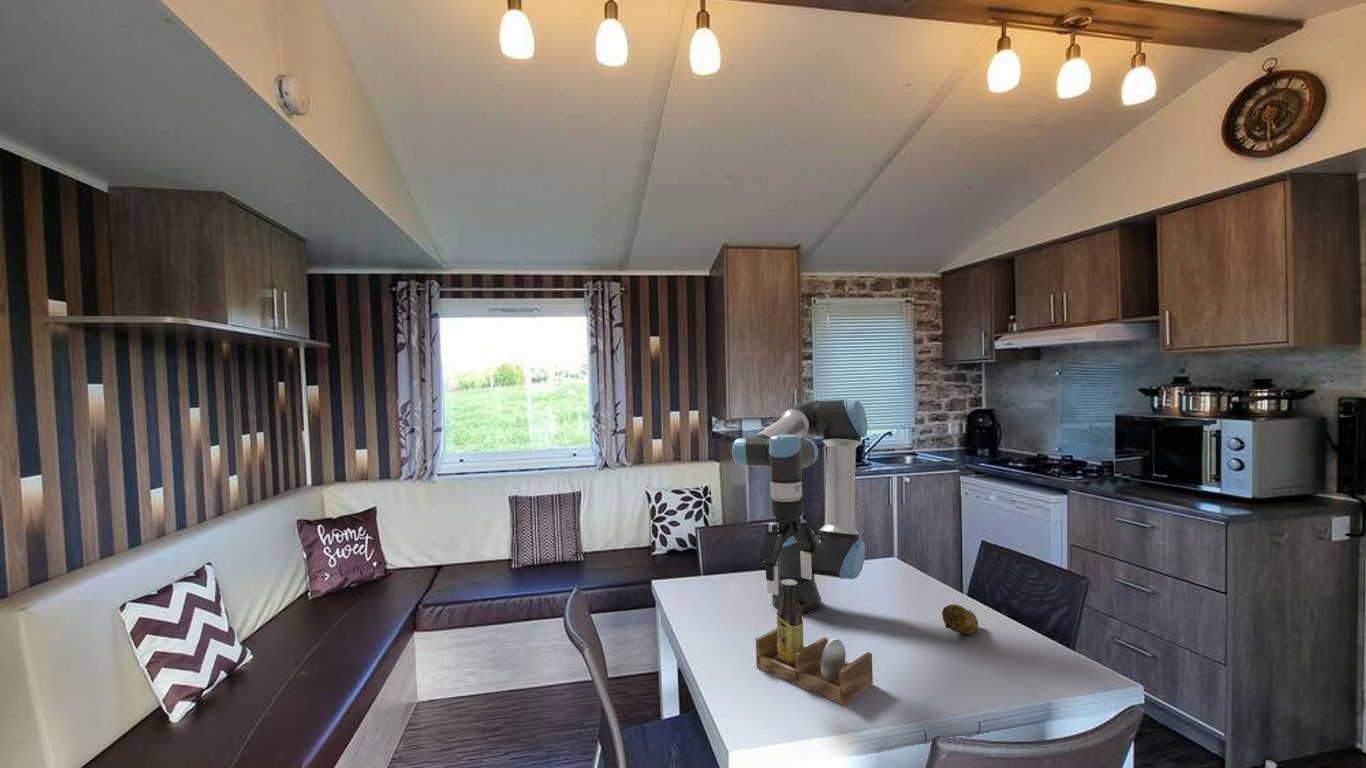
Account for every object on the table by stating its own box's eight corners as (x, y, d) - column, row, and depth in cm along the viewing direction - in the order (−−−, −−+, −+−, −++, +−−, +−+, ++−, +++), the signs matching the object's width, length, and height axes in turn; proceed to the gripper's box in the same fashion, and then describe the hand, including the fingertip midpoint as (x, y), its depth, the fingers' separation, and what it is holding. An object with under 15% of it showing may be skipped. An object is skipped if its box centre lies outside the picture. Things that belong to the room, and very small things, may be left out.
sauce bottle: (775, 658, 139) (772, 577, 140) (799, 656, 140) (796, 576, 140) (782, 670, 133) (779, 586, 133) (807, 669, 133) (804, 584, 134)
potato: (992, 634, 151) (991, 604, 152) (957, 643, 146) (956, 612, 147) (966, 622, 159) (965, 594, 159) (932, 631, 154) (931, 602, 154)
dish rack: (756, 667, 137) (755, 626, 137) (786, 651, 145) (785, 612, 145) (844, 705, 119) (842, 658, 120) (872, 684, 128) (871, 639, 128)
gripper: (766, 509, 126) (770, 604, 126) (828, 492, 143) (832, 575, 143) (741, 505, 131) (745, 596, 131) (803, 488, 148) (807, 569, 148)
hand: (790, 585), depth 137 cm, fingers open, 13 cm apart
